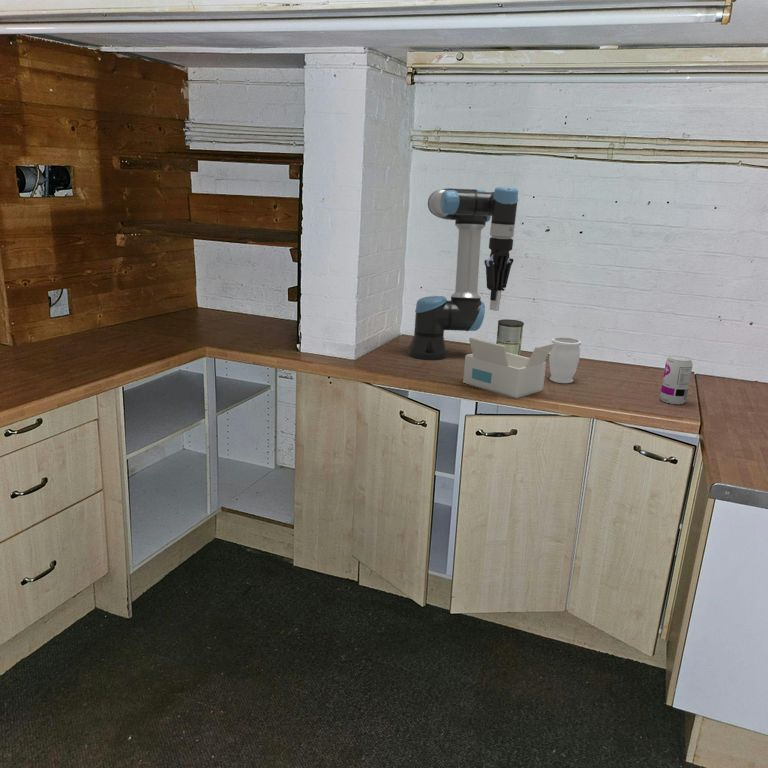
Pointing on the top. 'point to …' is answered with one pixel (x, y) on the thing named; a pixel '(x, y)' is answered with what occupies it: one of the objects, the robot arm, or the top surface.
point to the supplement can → (676, 380)
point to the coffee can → (510, 335)
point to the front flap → (489, 351)
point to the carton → (505, 376)
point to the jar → (564, 359)
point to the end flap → (539, 355)
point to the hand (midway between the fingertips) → (494, 309)
